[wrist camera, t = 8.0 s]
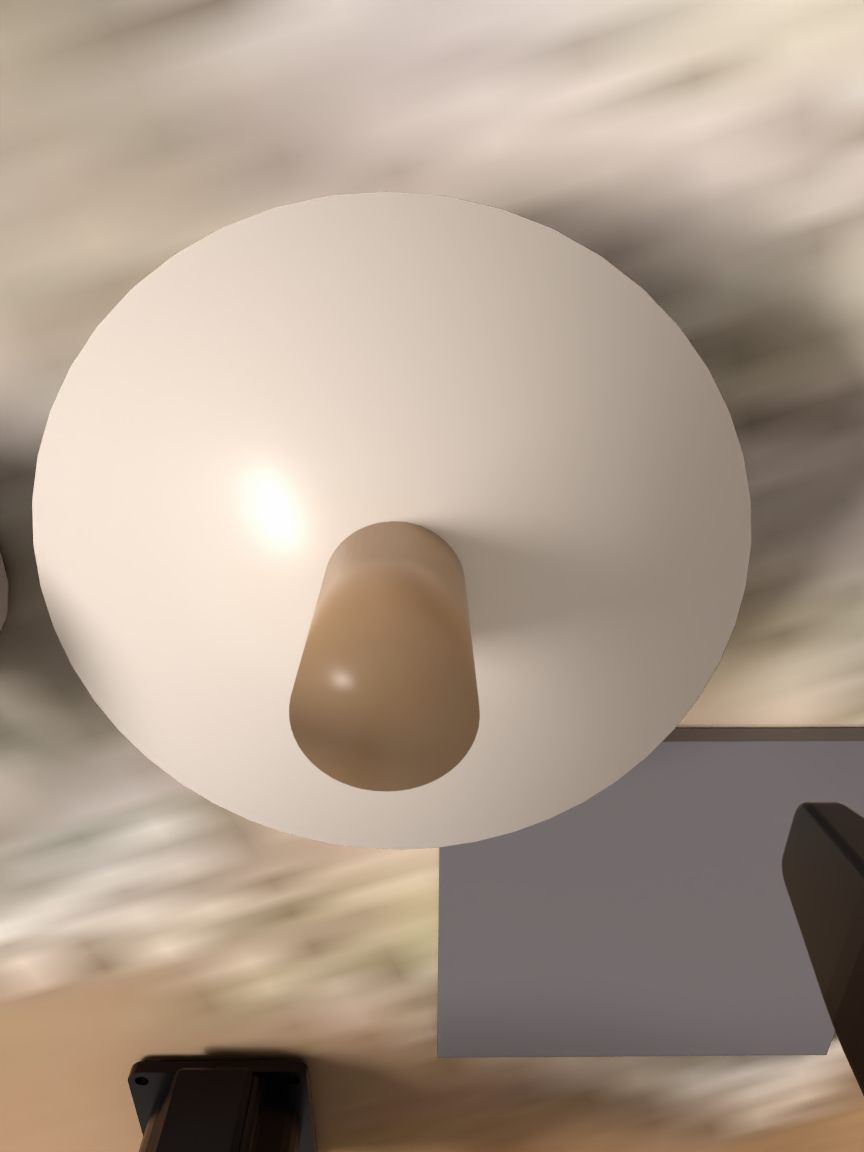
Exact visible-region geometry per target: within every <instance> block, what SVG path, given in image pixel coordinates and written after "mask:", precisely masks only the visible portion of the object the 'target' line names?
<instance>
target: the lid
mask: <svg viewBox="0 0 864 1152" xmlns="http://www.w3.org/2000/svg"><path fill="white" fill-rule="evenodd" d="M32 515H33V546H34V552H35V557H36V563H37V569H38V575H39V580H40V586H41V590H42V593H43V596H44V599H45V602H46V605H47V609H48V612H49V615H50V618H51V621H52V624H53V627H54V630H55V632H56V634H57V636H58V638H59V640H60V642H61V644H62V646H63V648H64V651H65V653H66V655H67V657H68V659H69V661H70V663H71V665H72V667H73V668H74V670H75V672H76V673H77V675H78V676H79V678H80V679H81V681H82V683H83V684H84V686H85V687H86V689H87V690H88V692H89V693H90V695H91V697H92V698H93V700H94V701H95V702H96V703H97V705H98V706H99V707H100V708H101V709H102V711H103V712H104V713H105V714H106V715H107V717H108V718H109V719H110V720H111V721H112V723H113V724H114V725H115V726H116V728H117V729H118V730H119V731H120V732H121V733H122V734H123V735H124V736H125V737H126V738H127V739H128V740H129V741H130V742H131V743H132V744H133V745H134V746H136V747H137V748H138V749H139V750H140V751H141V752H142V753H143V754H144V755H145V756H146V757H147V758H148V759H149V760H151V761H152V762H153V763H154V764H156V765H157V766H158V767H160V768H161V769H162V770H164V771H165V772H166V773H168V774H169V775H170V776H172V777H173V778H174V779H175V780H177V781H178V782H179V783H181V784H182V785H184V786H186V787H187V788H189V789H191V790H192V791H194V792H196V793H197V794H199V795H201V796H202V797H204V798H206V799H207V800H209V801H211V802H212V803H214V804H216V805H218V806H220V807H222V808H224V809H227V810H229V811H231V812H233V813H235V814H237V815H239V816H241V817H244V818H246V819H248V820H250V821H253V822H256V823H259V824H261V825H264V826H267V827H270V828H273V829H276V830H278V831H281V832H284V833H287V834H291V835H295V836H300V837H304V838H308V839H312V840H316V841H320V842H324V843H331V844H338V845H345V846H353V847H360V848H377V849H400V850H401V849H419V848H438V847H445V846H451V845H458V844H464V843H471V842H477V841H481V840H485V839H489V838H493V837H496V836H500V835H504V834H508V833H512V832H515V831H518V830H521V829H523V828H526V827H529V826H531V825H534V824H537V823H540V822H542V821H545V820H548V819H550V818H552V817H554V816H556V815H558V814H560V813H562V812H564V811H566V810H568V809H571V808H573V807H575V806H577V805H579V804H581V803H583V802H585V801H586V800H588V799H589V798H591V797H592V796H594V795H596V794H597V793H599V792H600V791H602V790H604V789H605V788H607V787H608V786H610V785H611V784H613V783H615V782H616V781H617V780H619V779H620V778H621V777H622V776H624V775H625V774H626V773H627V772H629V771H630V770H631V769H632V768H634V767H635V766H636V765H637V764H639V763H640V762H641V761H642V760H644V759H645V758H646V757H647V756H648V755H649V754H650V753H651V752H652V751H653V750H654V749H655V748H656V747H657V746H658V745H659V744H660V743H661V742H662V741H663V740H664V739H665V738H666V737H667V736H668V735H669V734H670V733H671V732H672V731H673V730H674V729H675V728H676V726H677V725H678V724H679V722H680V721H681V720H682V719H683V717H684V716H685V715H686V713H687V712H688V711H689V710H690V708H691V707H692V706H693V704H694V703H695V702H696V701H697V699H698V698H699V696H700V694H701V693H702V691H703V689H704V688H705V686H706V684H707V683H708V681H709V679H710V678H711V676H712V674H713V673H714V671H715V669H716V668H717V666H718V664H719V662H720V660H721V657H722V655H723V653H724V650H725V648H726V646H727V643H728V641H729V639H730V636H731V634H732V632H733V629H734V627H735V624H736V620H737V616H738V613H739V609H740V606H741V602H742V598H743V595H744V591H745V588H746V581H747V574H748V566H749V559H750V551H751V499H750V493H749V486H748V480H747V474H746V468H745V461H744V456H743V453H742V449H741V446H740V443H739V440H738V437H737V434H736V431H735V427H734V424H733V421H732V418H731V415H730V412H729V410H728V408H727V406H726V404H725V402H724V400H723V398H722V396H721V393H720V391H719V389H718V387H717V385H716V383H715V381H714V379H713V377H712V375H711V373H710V371H709V369H708V367H707V366H706V365H705V363H704V362H703V360H702V359H701V357H700V356H699V355H698V353H697V352H696V350H695V349H694V347H693V346H692V345H691V343H690V342H689V340H688V339H687V337H686V336H685V334H684V333H683V332H682V330H681V329H680V327H679V326H678V325H677V324H676V323H675V322H674V321H673V320H672V319H671V318H670V317H669V316H668V315H667V314H666V312H665V311H664V310H663V309H662V308H661V307H660V306H659V305H658V304H657V303H656V302H655V301H654V300H653V299H652V298H651V297H650V296H649V295H648V293H647V292H646V291H645V290H644V289H643V288H641V287H640V286H639V285H637V284H636V283H635V282H634V281H632V280H631V279H630V278H628V277H627V276H626V275H625V274H623V273H622V272H621V271H620V270H618V269H617V268H616V267H614V266H613V265H612V264H611V263H609V262H608V261H607V260H605V259H604V258H603V257H602V256H600V255H598V254H596V253H595V252H593V251H591V250H589V249H588V248H586V247H584V246H582V245H581V244H579V243H577V242H575V241H574V240H572V239H570V238H568V237H567V236H565V235H563V234H561V233H559V232H558V231H556V230H554V229H552V228H549V227H547V226H544V225H542V224H539V223H537V222H534V221H531V220H529V219H526V218H524V217H521V216H519V215H516V214H513V213H511V212H508V211H506V210H503V209H500V208H496V207H492V206H487V205H483V204H478V203H474V202H470V201H465V200H461V199H456V198H452V197H448V196H441V195H428V194H415V193H402V192H389V191H385V192H370V193H356V194H342V195H329V196H324V197H320V198H315V199H311V200H306V201H302V202H297V203H293V204H288V205H284V206H279V207H275V208H272V209H269V210H266V211H264V212H261V213H259V214H256V215H253V216H251V217H248V218H246V219H243V220H240V221H238V222H235V223H233V224H230V225H227V226H225V227H222V228H220V229H218V230H217V231H215V232H213V233H211V234H210V235H208V236H206V237H204V238H203V239H201V240H199V241H197V242H196V243H194V244H192V245H190V246H189V247H187V248H185V249H183V250H182V251H180V252H178V253H176V254H175V255H173V256H172V257H171V258H169V259H168V260H167V261H166V262H164V263H163V264H162V265H161V266H159V267H158V268H157V269H156V270H154V271H153V272H152V273H151V274H149V275H148V276H147V277H146V278H144V279H143V280H142V281H141V282H139V283H138V284H137V285H136V286H134V287H133V288H132V289H131V290H130V291H129V292H128V293H127V294H126V296H125V297H124V298H123V299H122V300H121V301H120V302H119V303H118V304H117V305H116V306H115V308H114V309H113V310H112V311H111V312H110V313H109V314H108V315H107V316H106V317H105V318H104V320H103V321H102V322H101V323H100V324H99V325H98V326H97V328H96V329H95V331H94V332H93V334H92V335H91V337H90V338H89V340H88V341H87V343H86V344H85V346H84V347H83V349H82V350H81V352H80V353H79V355H78V356H77V358H76V359H75V361H74V362H73V364H72V365H71V367H70V369H69V371H68V373H67V375H66V378H65V380H64V382H63V384H62V386H61V388H60V391H59V393H58V395H57V397H56V399H55V402H54V404H53V406H52V408H51V410H50V413H49V417H48V421H47V424H46V428H45V431H44V435H43V438H42V442H41V446H40V449H39V453H38V456H37V465H36V473H35V481H34V489H33V498H32Z"/></svg>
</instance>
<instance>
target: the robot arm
mask: <svg viewBox="0 0 864 1152" xmlns="http://www.w3.org/2000/svg"><path fill="white" fill-rule="evenodd" d="M782 874H783V879H784V882H785V886H786V889H787V892H788V895H789V898H790V901H791V904H792V907H793V910H794V913H795V916H796V919H797V922H798V925H799V928H800V931H801V934H802V937H803V940H804V943H805V946H806V949H807V952H808V955H809V958H810V961H811V964H812V967H813V970H814V973H815V976H816V979H817V982H818V985H819V988H820V991H821V994H822V997H823V1000H824V1002H825V1005H826V1008H827V1011H828V1013H829V1016H830V1019H831V1022H832V1024H833V1027H834V1029H835V1032H836V1034H837V1036H838V1039H839V1041H840V1043H841V1046H842V1048H843V1051H844V1053H845V1055H846V1057H847V1060H848V1062H849V1064H850V1066H851V1068H852V1071H853V1073H854V1075H855V1077H856V1080H857V1082H858V1084H859V1086H860V1089H861V1091H862V1093H863V1095H864V817H862V816H861V815H859V814H858V813H856V812H855V811H853V810H852V809H850V808H849V807H847V806H845V805H844V804H841V803H838V802H805V803H802V804H800V805H799V806H798V807H797V809H796V811H795V813H794V817H793V820H792V824H791V827H790V831H789V835H788V838H787V842H786V845H785V849H784V852H783V857H782ZM128 1083H129V1086H130V1090H131V1094H132V1097H133V1101H134V1104H135V1108H136V1112H137V1115H138V1119H139V1122H140V1126H141V1130H142V1133H143V1140H142V1143H141V1146H140V1149H139V1152H317V1142H316V1133H315V1124H314V1114H313V1105H312V1096H311V1087H310V1077H309V1069H308V1066H307V1065H306V1064H305V1063H303V1062H301V1061H295V1060H273V1061H142V1062H137V1063H135V1064H134V1065H133V1066H132V1068H131V1071H130V1074H129V1077H128Z"/></svg>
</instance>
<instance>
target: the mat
mask: <svg viewBox="0 0 864 1152" xmlns="http://www.w3.org/2000/svg"><path fill="white" fill-rule="evenodd" d="M805 802H838V803H841V804H844V805H845V806H847V807H849V808H850V809H852V810H853V811H855V812H856V813H858V814H859V815H861V816H862V817H864V728H675V729H674V730H673V731H672V732H671V733H670V734H669V735H668V736H667V737H666V738H665V739H664V740H663V741H662V742H661V743H660V744H659V745H658V746H657V747H656V748H655V749H654V750H653V751H652V752H651V753H650V754H649V755H648V756H647V757H646V758H645V759H644V760H642V761H641V762H640V763H639V764H637V765H636V766H635V767H634V768H632V769H631V770H630V771H629V772H627V773H626V774H625V775H624V776H622V777H621V778H620V779H619V780H617V781H616V782H615V783H613V784H611V785H610V786H608V787H607V788H605V789H604V790H602V791H600V792H599V793H597V794H596V795H594V796H592V797H591V798H589V799H588V800H586V801H585V802H583V803H581V804H579V805H577V806H575V807H573V808H571V809H568V810H566V811H564V812H562V813H560V814H558V815H556V816H554V817H552V818H550V819H548V820H545V821H542V822H540V823H537V824H534V825H531V826H529V827H526V828H523V829H521V830H518V831H515V832H512V833H508V834H504V835H500V836H496V837H493V838H489V839H485V840H481V841H477V842H471V843H464V844H458V845H451V846H445V847H440V850H439V937H438V1025H437V1053H438V1058H452V1057H599V1056H745V1055H827V1052H828V1049H829V1047H830V1044H831V1041H832V1039H833V1036H834V1033H835V1029H834V1027H833V1024H832V1022H831V1019H830V1016H829V1013H828V1011H827V1008H826V1005H825V1002H824V1000H823V997H822V994H821V991H820V988H819V985H818V982H817V979H816V976H815V973H814V970H813V967H812V964H811V961H810V958H809V955H808V952H807V949H806V946H805V943H804V940H803V937H802V934H801V931H800V928H799V925H798V922H797V919H796V916H795V913H794V910H793V907H792V904H791V901H790V898H789V895H788V892H787V889H786V886H785V882H784V879H783V874H782V857H783V852H784V849H785V845H786V842H787V838H788V835H789V831H790V827H791V824H792V820H793V817H794V813H795V811H796V809H797V807H798V806H799V805H800V804H802V803H805Z"/></svg>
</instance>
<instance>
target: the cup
mask: <svg viewBox="0 0 864 1152" xmlns="http://www.w3.org/2000/svg"><path fill="white" fill-rule="evenodd" d="M7 607H8V580H7V575H6V572H5V568H4V564H3V560H2V556H1V552H0V632H1V629H2V627H3V624H4V622H5V619H6V617H7Z"/></svg>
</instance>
